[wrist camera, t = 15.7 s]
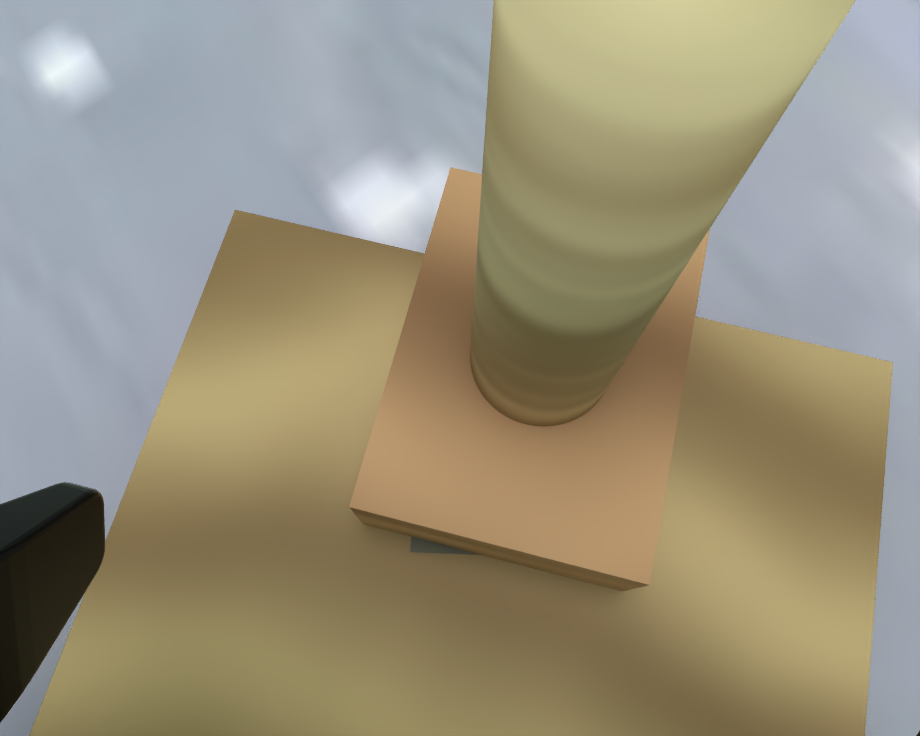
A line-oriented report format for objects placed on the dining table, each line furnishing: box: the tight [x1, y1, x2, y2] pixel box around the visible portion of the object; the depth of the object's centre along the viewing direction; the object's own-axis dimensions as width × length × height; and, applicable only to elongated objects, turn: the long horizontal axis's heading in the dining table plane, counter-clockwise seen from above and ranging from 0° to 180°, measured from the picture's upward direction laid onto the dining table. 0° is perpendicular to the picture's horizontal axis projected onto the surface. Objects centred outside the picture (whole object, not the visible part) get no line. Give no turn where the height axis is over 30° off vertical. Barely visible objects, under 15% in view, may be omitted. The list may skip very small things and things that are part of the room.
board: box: [29, 210, 893, 736], centre depth 18 cm, size 17×17×2 cm
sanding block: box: [349, 0, 855, 591], centre depth 12 cm, size 8×6×13 cm
